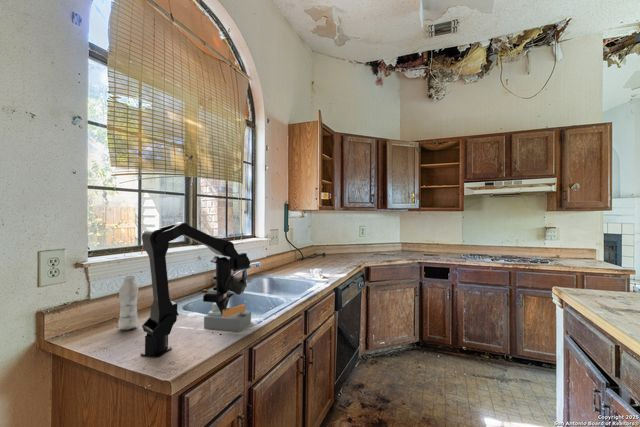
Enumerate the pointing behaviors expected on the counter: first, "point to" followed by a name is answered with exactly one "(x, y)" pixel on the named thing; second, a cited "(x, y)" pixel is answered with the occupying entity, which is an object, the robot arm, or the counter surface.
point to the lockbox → (228, 322)
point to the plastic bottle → (128, 304)
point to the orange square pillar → (234, 310)
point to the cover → (215, 310)
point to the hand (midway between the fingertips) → (223, 313)
